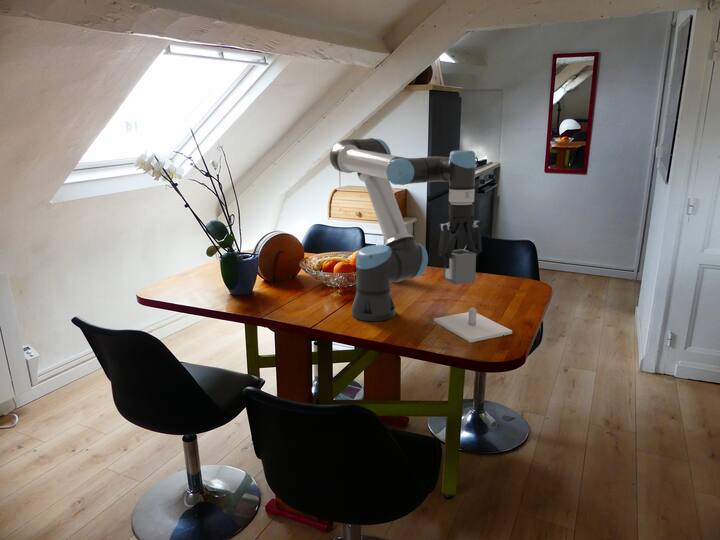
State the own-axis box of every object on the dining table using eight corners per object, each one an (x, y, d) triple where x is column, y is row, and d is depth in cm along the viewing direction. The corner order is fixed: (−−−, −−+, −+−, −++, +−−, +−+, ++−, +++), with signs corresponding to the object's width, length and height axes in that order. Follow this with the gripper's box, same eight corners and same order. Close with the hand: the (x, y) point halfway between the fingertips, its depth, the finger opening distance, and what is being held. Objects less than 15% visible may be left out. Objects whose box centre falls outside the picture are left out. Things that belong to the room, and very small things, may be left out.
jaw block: (455, 284, 166) (456, 255, 164) (443, 279, 173) (444, 251, 171) (475, 281, 169) (476, 253, 167) (462, 276, 175) (463, 249, 173)
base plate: (470, 342, 165) (471, 321, 164) (433, 321, 183) (434, 302, 181) (512, 333, 172) (513, 313, 170) (473, 313, 190) (474, 295, 188)
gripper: (439, 206, 158) (437, 283, 164) (496, 202, 165) (493, 275, 171) (426, 203, 165) (425, 277, 170) (482, 199, 172) (479, 270, 178)
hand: (459, 276), depth 171 cm, fingers closed on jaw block, 7 cm apart
